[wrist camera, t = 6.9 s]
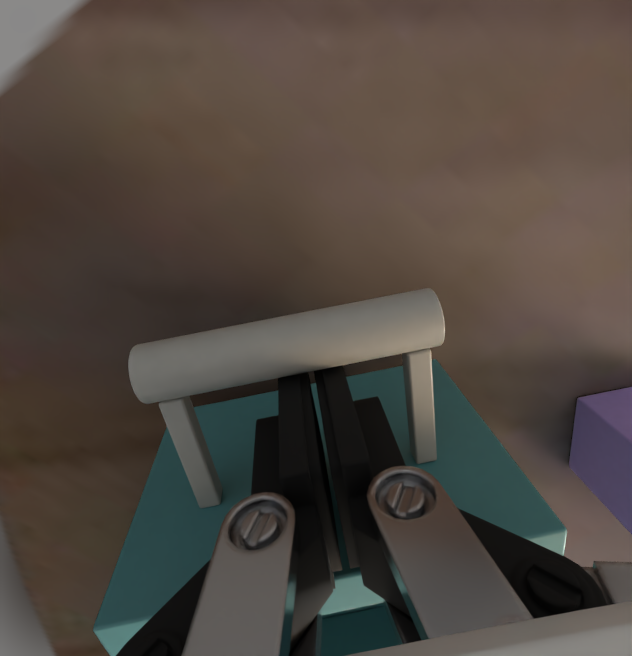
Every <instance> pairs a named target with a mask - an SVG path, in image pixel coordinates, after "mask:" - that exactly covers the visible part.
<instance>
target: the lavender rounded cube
mask: <svg viewBox="0 0 632 656" xmlns="http://www.w3.org/2000/svg"><path fill="white" fill-rule="evenodd" d="M569 467H570V468H571V469H572V470H573V472H574V473H575V474H576V475H577V476H578V477H579V478H580V479H581V480H582V481H583V482H584V483H585V484H586V486H587V487H588V488H589V489H590V490H591V491H592V492H593V493H594V494H595V495H596V496H597V497H598V499H599V500H600V501H601V502H602V503H603V504H604V505H605V506H606V507H607V508H608V509H609V510H610V512H611V513H612V514H613V515H614V516H615V517H616V518H617V519H618V520H619V521H620V522H621V523H622V525H623V526H624V527H625V528H626V529H627V530H628V531H629V532H630V533H631V534H632V387H628V388H623V389H618V390H613V391H608V392H603V393H598V394H593V395H588V396H584V397H579V398H577V404H576V412H575V420H574V428H573V436H572V444H571V452H570V460H569Z"/></svg>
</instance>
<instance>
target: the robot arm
mask: <svg viewBox="0 0 632 656" xmlns="http://www.w3.org/2000/svg"><path fill="white" fill-rule="evenodd" d="M314 374H315V380H316V387H317V393H318V399H319V405H320V411H321V417H322V423H323V429H324V436H325V442H326V448H327V454H328V460H329V466H330V471H331V476H332V481H333V486H334V491H335V496H336V501H337V506H338V511H339V516H340V521H341V526H342V531H343V536H344V541H345V546H346V551H347V556H348V560H349V565H350V569H351V568H356V567H360V570H361V575H362V581H363V584H364V586H365V587H367V588H368V589H369V590H371V591H372V592H374V593H375V594H377V595H378V596H380V597H381V598H383V602H384V606H385V610H386V612H387V615H388V617H389V620H390V623H391V625H392V628H393V630H394V633H395V636H396V638H397V641H398V644H399V645H396V646H391V647H386V648H381V649H376V650H371V651H366V652H361V653H356V654H351V655H346V656H632V562H606V561H594V563H593V567H580V566H579V565H578V564H576V563H575V562H573V561H571V560H569V559H568V558H566V557H564V556H562V555H560V554H558V553H556V552H554V551H551V550H549V549H547V548H545V547H543V546H540V545H538V544H536V543H534V542H532V541H529V540H527V539H525V538H523V537H521V536H518V535H516V534H514V533H512V532H510V531H507V530H505V529H503V528H501V527H499V526H496V525H494V524H492V523H490V522H488V521H485V520H483V519H481V518H479V517H477V516H474V515H472V514H470V513H468V512H466V511H463V510H461V509H459V508H457V507H456V506H455V504H454V503H453V501H452V500H451V498H450V497H449V495H448V494H447V493H446V491H445V490H444V488H443V487H442V485H441V484H440V482H439V481H438V480H437V479H436V478H435V477H434V476H433V475H432V474H430V473H428V472H426V471H425V470H423V469H420V468H416V467H413V466H406V465H405V462H404V460H403V457H402V455H401V452H400V450H399V447H398V445H397V442H396V440H395V437H394V435H393V432H392V430H391V427H390V424H389V422H388V419H387V417H386V414H385V412H384V409H383V407H382V404H381V402H380V399H379V397H378V396H376V397H371V398H365V399H360V400H355V401H353V399H352V396H351V392H350V389H349V385H348V382H347V379H346V375H345V372H344V368H343V365H341V366H336V367H331V368H326V369H321V370H316V371H314ZM341 570H342V563H341V557H340V550H339V544H338V537H337V531H336V524H335V518H334V511H333V505H332V498H331V492H330V486H329V479H328V473H327V466H326V460H325V453H324V448H323V443H322V438H321V433H320V428H319V423H318V418H317V413H316V408H315V403H314V399H313V394H312V389H311V384H310V379H309V374H308V372H306V373H301V374H296V375H291V376H286V377H281V378H278V415H277V416H271V417H266V418H261V419H257V421H256V429H255V443H254V458H253V472H252V486H251V495H250V496H248V497H246V498H244V499H242V500H241V501H239V502H238V503H237V504H235V505H234V506H233V507H232V508H231V509H230V511H229V512H228V513H227V514H226V516H225V518H224V520H223V522H222V524H221V527H220V530H219V534H218V537H217V540H216V544H215V547H214V550H213V553H212V557H211V559H210V560H209V561H208V562H207V563H206V564H205V565H204V566H203V567H202V568H201V569H200V570H199V571H198V572H197V573H196V574H195V575H194V576H193V577H192V578H191V579H190V580H189V581H188V582H187V583H186V584H185V585H184V586H183V587H182V588H181V589H180V590H179V591H178V592H177V593H176V594H175V595H174V596H173V597H172V598H171V599H170V600H169V601H168V602H167V603H166V604H165V605H164V606H163V607H162V608H161V609H160V610H159V611H158V612H157V613H156V614H155V615H154V616H153V617H152V618H151V619H150V620H149V621H148V622H147V623H146V624H145V625H144V626H143V627H142V628H141V629H140V630H139V631H138V632H137V633H136V634H135V635H134V636H133V637H132V638H131V639H130V640H129V641H128V642H127V643H126V644H125V645H124V646H123V648H122V649H121V650H120V651H119V652H118V654H117V655H116V656H321V638H322V614H321V608H322V607H323V605H324V604H325V602H326V601H327V600H328V598H329V597H330V595H331V594H332V593H333V589H336V588H335V580H334V573H333V572H336V571H341Z"/></svg>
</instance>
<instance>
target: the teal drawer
mask: <svg viewBox="0 0 632 656" xmlns="http://www.w3.org/2000/svg"><path fill="white" fill-rule="evenodd" d="M444 338H445V322H444V316H443V311H442V308H441V304H440V302H439V299H438V297H437V295H436V294H435V292H434V291H433V290H432V289H430V288H425V289H419V290H414V291H409V292H404V293H399V294H394V295H389V296H383V297H378V298H373V299H368V300H363V301H358V302H353V303H348V304H342V305H337V306H332V307H327V308H322V309H317V310H312V311H307V312H301V313H296V314H291V315H286V316H281V317H276V318H271V319H266V320H260V321H255V322H250V323H245V324H240V325H235V326H230V327H225V328H219V329H214V330H209V331H204V332H199V333H194V334H189V335H184V336H178V337H173V338H168V339H163V340H158V341H153V342H148V343H143V344H137V345H135V346H134V347H133V348H132V349H131V351H130V354H129V360H128V370H129V377H130V382H131V385H132V388H133V391H134V393H135V395H136V396H137V398H138V399H139V400H140V401H141V402H143V403H145V404H150V403H155V402H159V408H160V410H161V413H162V415H163V418H164V420H165V423H166V425H167V427H166V430H165V433H164V435H163V438H162V441H161V444H160V446H159V449H158V452H157V455H156V457H155V460H154V463H153V466H152V468H151V471H150V474H149V476H148V479H147V482H146V485H145V487H144V490H143V493H142V496H141V498H140V501H139V504H138V507H137V509H136V512H135V515H134V517H133V520H132V523H131V526H130V528H129V531H128V534H127V537H126V539H125V542H124V545H123V548H122V550H121V553H120V556H119V558H118V561H117V564H116V567H115V569H114V572H113V575H112V578H111V580H110V583H109V586H108V589H107V591H106V594H105V597H104V599H103V602H102V605H101V608H100V610H99V613H98V616H97V619H96V621H95V624H94V627H93V632H94V633H95V634H96V636H97V637H98V639H99V640H100V642H101V643H102V645H103V646H104V648H105V649H106V651H107V652H108V654H109V655H110V656H116V655H117V654H118V652H119V651H120V650H121V649H122V648H123V646H124V645H125V644H126V643H127V642H128V641H129V640H130V639H131V638H132V637H133V636H134V635H135V634H136V633H137V632H138V631H139V630H140V629H141V628H142V627H143V626H144V625H145V624H146V623H147V622H148V621H149V620H150V619H151V618H152V617H153V616H154V615H155V614H156V613H157V612H158V611H159V610H160V609H161V608H162V607H163V606H164V605H165V604H166V603H167V602H168V601H169V600H170V599H171V598H172V597H173V596H174V595H175V594H176V593H177V592H178V591H179V590H180V589H181V588H182V587H183V586H184V585H185V584H186V583H187V582H188V581H189V580H190V579H191V578H192V577H193V576H194V575H195V574H196V573H197V572H198V571H199V570H200V569H201V568H202V567H203V566H204V565H205V564H206V563H207V562H208V561H209V560H210V559H211V557H212V553H213V550H214V547H215V544H216V540H217V537H218V534H219V530H220V527H221V524H222V522H223V520H224V518H225V516H226V514H227V513H228V512H229V511H230V509H231V508H232V507H233V506H234V505H235V504H237V503H238V502H239V501H241V500H242V499H244V498H246V497H248V496H250V495H251V486H252V472H253V458H254V443H255V429H256V421H257V419H261V418H266V417H271V416H277V415H278V391H273V392H268V393H263V394H258V395H253V396H248V397H243V398H238V399H233V400H228V401H222V402H217V403H212V404H207V405H202V406H197V407H193V405H192V402H191V399H190V395H195V394H200V393H205V392H210V391H215V390H220V389H225V388H230V387H235V386H240V385H245V384H251V383H256V382H261V381H266V380H271V379H276V378H281V377H286V376H291V375H296V374H301V373H306V372H311V371H316V370H321V369H326V368H331V367H336V366H341V365H346V364H351V363H356V362H361V361H366V360H371V359H376V358H382V357H387V356H392V355H397V354H402V361H403V366H398V367H393V368H388V369H383V370H378V371H373V372H368V373H363V374H358V375H353V376H348V377H346V379H347V382H348V385H349V389H350V392H351V396H352V399H353V401H355V400H360V399H365V398H371V397H376V396H378V397H379V399H380V402H381V404H382V407H383V409H384V412H385V414H386V417H387V419H388V422H389V424H390V427H391V430H392V432H393V435H394V437H395V440H396V442H397V445H398V447H399V450H400V452H401V455H402V457H403V460H404V462H405V465H406V466H413V467H416V468H420V469H423V470H425V471H426V472H428V473H430V474H432V475H433V476H434V477H435V478H436V479H437V480H438V481H439V482H440V484H441V485H442V487H443V488H444V490H445V491H446V493H447V494H448V495H449V497H450V498H451V500H452V501H453V503H454V504H455V506H456V507H457V508H459V509H461V510H463V511H466V512H468V513H470V514H472V515H474V516H477V517H479V518H481V519H483V520H485V521H488V522H490V523H492V524H494V525H496V526H499V527H501V528H503V529H505V530H507V531H510V532H512V533H514V534H516V535H518V536H521V537H523V538H525V539H527V540H529V541H532V542H534V543H536V544H538V545H540V546H543V547H545V548H547V549H549V550H551V551H554V552H556V553H558V554H560V555H562V556H564V551H565V543H566V536H567V530H566V527H565V526H564V525H563V524H562V522H561V521H560V520H559V518H558V517H557V516H556V514H555V513H554V512H553V511H552V509H551V508H550V507H549V505H548V504H547V503H546V501H545V500H544V499H543V498H542V496H541V495H540V494H539V492H538V491H537V490H536V488H535V487H534V486H533V485H532V483H531V482H530V481H529V479H528V478H527V477H526V475H525V474H524V473H523V472H522V470H521V469H520V468H519V466H518V465H517V464H516V462H515V461H514V460H513V459H512V457H511V456H510V455H509V453H508V452H507V451H506V449H505V448H504V447H503V446H502V444H501V443H500V442H499V440H498V439H497V438H496V436H495V435H494V434H493V433H492V431H491V430H490V429H489V427H488V426H487V425H486V423H485V422H484V421H483V420H482V418H481V417H480V416H479V414H478V413H477V412H476V410H475V409H474V408H473V407H472V405H471V404H470V403H469V401H468V400H467V399H466V397H465V396H464V395H463V394H462V392H461V391H460V390H459V388H458V387H457V386H456V384H455V383H454V382H453V381H452V379H451V378H450V377H449V375H448V374H447V373H446V371H445V370H444V369H443V368H442V366H441V365H440V364H439V362H438V361H437V360H436V359H433V360H432V358H431V350H430V349H429V348H432V347H437V346H440V345H442V343H443V342H444ZM311 389H312V394H313V399H314V403H315V408H316V413H317V418H318V423H319V428H320V433H321V438H322V443H323V448H324V453H325V460H326V466H327V473H328V479H329V486H330V492H331V498H332V505H333V511H334V518H335V524H336V531H337V537H338V544H339V550H340V557H341V563H342V570H341V571H336V572H333V573H334V580H335V588H336V589H333V593H332V594H331V595H330V597H329V598H328V600H327V601H326V602H325V604H324V605H323V607H322V608H321V614H322V638H321V656H346V655H351V654H356V653H361V652H366V651H371V650H376V649H381V648H386V647H391V646H396V645H399V644H398V641H397V638H396V636H395V633H394V630H393V628H392V625H391V623H390V620H389V617H388V615H387V612H386V610H385V606H384V602H383V598H381V597H380V596H378V595H377V594H375V593H374V592H372V591H371V590H369V589H368V588H367V587H365V586H364V584H363V581H362V575H361V570H360V567H356V568H351V569H350V565H349V560H348V556H347V551H346V546H345V541H344V536H343V531H342V526H341V521H340V516H339V511H338V506H337V501H336V496H335V491H334V486H333V481H332V476H331V471H330V466H329V460H328V454H327V448H326V442H325V436H324V429H323V423H322V417H321V411H320V405H319V399H318V393H317V387H316V383H313V384H311Z"/></svg>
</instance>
